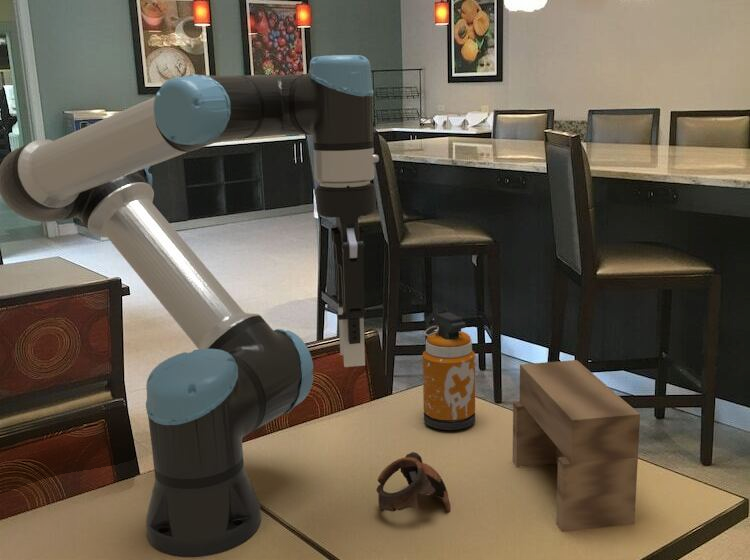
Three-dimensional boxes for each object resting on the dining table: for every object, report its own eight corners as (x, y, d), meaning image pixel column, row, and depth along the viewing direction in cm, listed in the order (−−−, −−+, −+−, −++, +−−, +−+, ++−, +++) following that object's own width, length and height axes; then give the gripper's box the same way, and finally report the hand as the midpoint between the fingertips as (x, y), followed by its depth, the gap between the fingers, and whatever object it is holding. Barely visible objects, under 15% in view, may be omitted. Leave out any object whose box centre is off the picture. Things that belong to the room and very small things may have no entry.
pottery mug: (459, 525, 106) (432, 483, 103) (397, 552, 108) (368, 511, 105) (449, 467, 117) (424, 427, 114) (392, 492, 119) (366, 454, 116)
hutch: (561, 534, 103) (564, 420, 100) (512, 461, 124) (513, 364, 120) (634, 526, 105) (640, 414, 101) (573, 455, 125) (576, 359, 121)
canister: (439, 437, 133) (437, 323, 128) (409, 414, 143) (407, 307, 138) (485, 426, 137) (485, 315, 132) (453, 404, 146) (452, 300, 142)
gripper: (385, 189, 92) (390, 379, 97) (366, 174, 108) (371, 337, 114) (320, 192, 91) (329, 384, 96) (311, 176, 107) (319, 341, 113)
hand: (352, 358), depth 105 cm, fingers open, 4 cm apart
